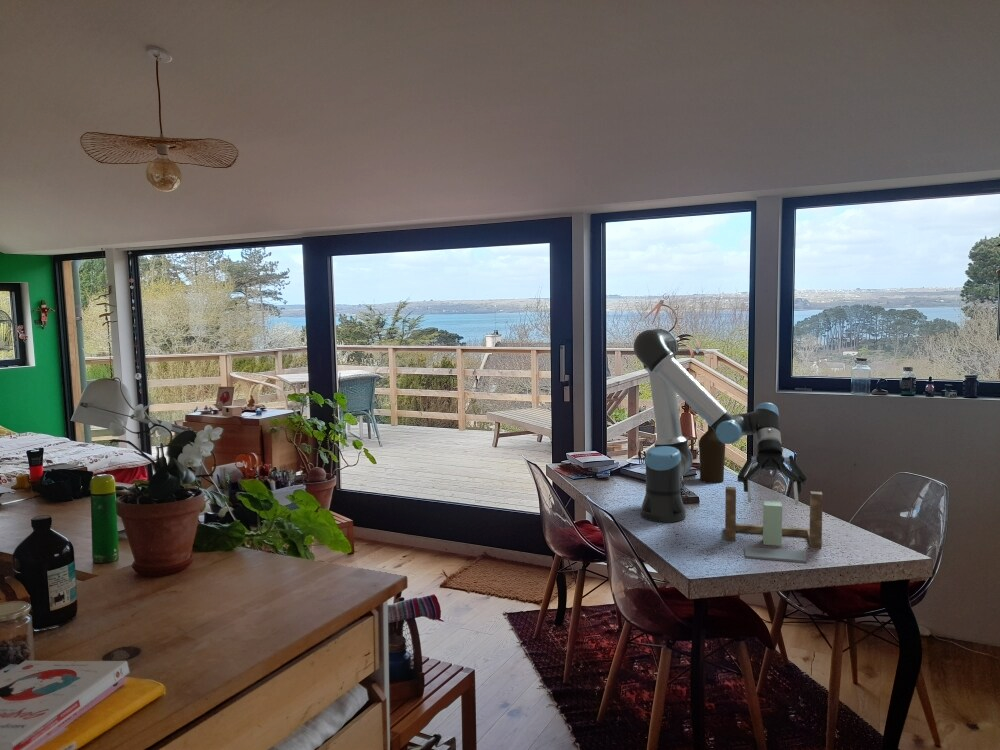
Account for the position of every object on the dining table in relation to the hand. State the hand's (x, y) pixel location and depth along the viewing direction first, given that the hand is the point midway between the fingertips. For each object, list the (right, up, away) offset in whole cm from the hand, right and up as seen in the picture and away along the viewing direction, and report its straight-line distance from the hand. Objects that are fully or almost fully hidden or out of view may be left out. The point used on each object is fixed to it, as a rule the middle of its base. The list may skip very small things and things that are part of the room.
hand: (772, 501), depth 212 cm
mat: (-6, -13, -15) cm, 21 cm away
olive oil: (+4, -5, +76) cm, 76 cm away
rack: (0, -11, 0) cm, 11 cm away
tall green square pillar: (-2, -12, -4) cm, 13 cm away
